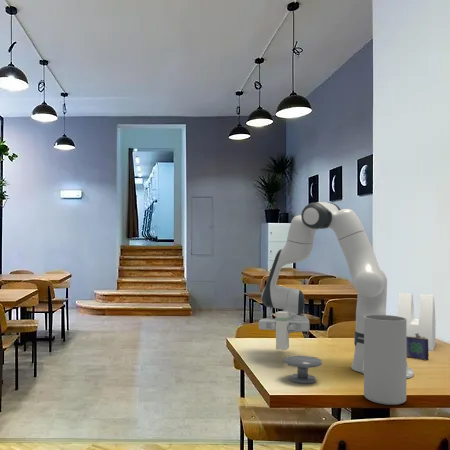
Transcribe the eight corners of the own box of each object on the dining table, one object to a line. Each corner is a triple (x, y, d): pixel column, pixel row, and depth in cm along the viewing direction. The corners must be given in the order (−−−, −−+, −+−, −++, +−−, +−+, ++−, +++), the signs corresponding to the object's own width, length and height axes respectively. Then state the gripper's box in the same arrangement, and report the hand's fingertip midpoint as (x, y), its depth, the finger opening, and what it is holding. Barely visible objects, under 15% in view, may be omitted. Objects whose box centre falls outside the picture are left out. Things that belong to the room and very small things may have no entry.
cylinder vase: (357, 392, 150) (358, 314, 152) (395, 392, 151) (395, 314, 152) (372, 405, 138) (373, 320, 139) (413, 405, 139) (413, 321, 140)
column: (289, 347, 182) (288, 311, 183) (286, 350, 178) (285, 313, 179) (279, 347, 184) (278, 311, 184) (275, 349, 180) (275, 312, 181)
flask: (405, 357, 201) (405, 332, 201) (407, 356, 203) (407, 331, 204) (427, 360, 195) (427, 335, 195) (429, 359, 197) (429, 334, 198)
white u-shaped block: (432, 351, 214) (432, 296, 215) (396, 347, 221) (396, 294, 222) (435, 344, 231) (435, 293, 232) (402, 340, 238) (402, 291, 239)
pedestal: (324, 377, 166) (325, 358, 167) (316, 387, 155) (317, 366, 155) (289, 373, 172) (289, 354, 172) (279, 382, 160) (279, 361, 160)
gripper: (261, 314, 197) (255, 318, 183) (310, 315, 192) (308, 320, 178) (261, 329, 196) (255, 335, 183) (310, 331, 191) (308, 337, 178)
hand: (282, 327), depth 180 cm, fingers closed on column, 4 cm apart
